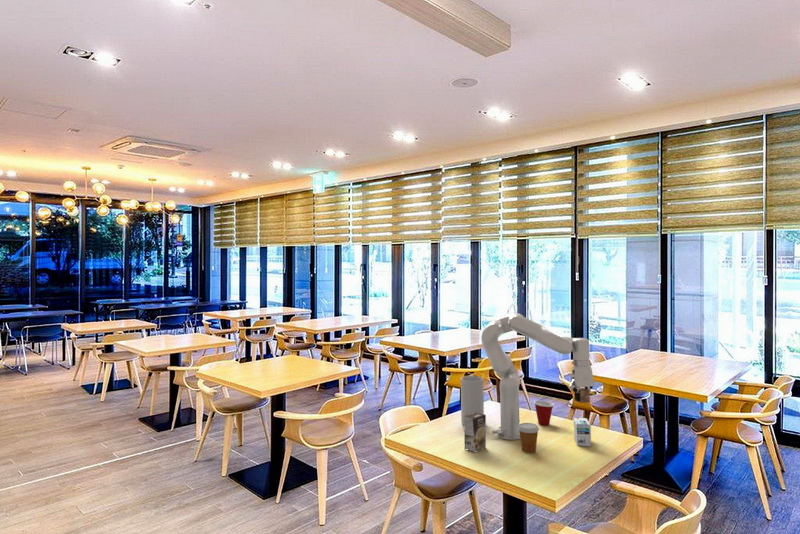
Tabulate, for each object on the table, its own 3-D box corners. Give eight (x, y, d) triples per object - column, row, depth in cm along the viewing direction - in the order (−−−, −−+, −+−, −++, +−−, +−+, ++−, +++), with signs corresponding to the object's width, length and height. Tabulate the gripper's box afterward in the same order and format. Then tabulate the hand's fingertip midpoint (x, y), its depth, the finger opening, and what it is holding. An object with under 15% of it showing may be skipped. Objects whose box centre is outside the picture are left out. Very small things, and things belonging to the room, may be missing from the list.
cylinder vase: (459, 420, 282) (458, 376, 282) (480, 419, 283) (479, 375, 284) (464, 427, 270) (463, 381, 270) (486, 426, 271) (486, 380, 271)
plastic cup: (557, 427, 268) (556, 405, 268) (537, 427, 268) (536, 405, 268) (551, 421, 279) (550, 399, 279) (531, 421, 279) (531, 400, 279)
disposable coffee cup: (528, 456, 227) (527, 430, 228) (514, 449, 236) (513, 424, 236) (543, 452, 232) (543, 426, 232) (529, 446, 240) (529, 421, 240)
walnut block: (581, 403, 241) (581, 390, 241) (574, 400, 246) (574, 388, 246) (589, 401, 243) (589, 389, 243) (582, 399, 247) (582, 387, 247)
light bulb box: (591, 446, 238) (591, 424, 238) (576, 446, 240) (576, 423, 240) (587, 439, 249) (587, 417, 249) (573, 438, 250) (573, 417, 250)
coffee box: (474, 452, 232) (474, 418, 232) (464, 449, 237) (463, 416, 237) (486, 447, 239) (486, 414, 239) (475, 444, 243) (475, 411, 243)
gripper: (572, 366, 238) (572, 403, 238) (600, 363, 244) (601, 400, 244) (562, 363, 245) (562, 400, 245) (590, 360, 251) (590, 396, 251)
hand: (582, 399), depth 244 cm, fingers closed on walnut block, 5 cm apart
